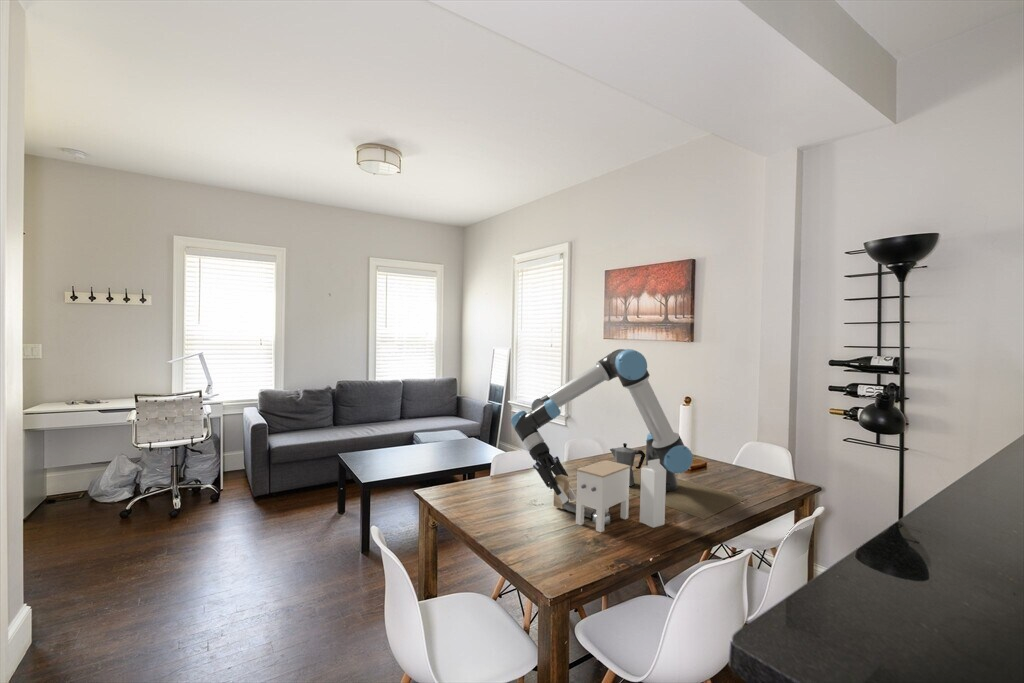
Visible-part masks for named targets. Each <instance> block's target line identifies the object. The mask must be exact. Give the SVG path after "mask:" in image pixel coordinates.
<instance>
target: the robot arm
mask: <svg viewBox="0 0 1024 683" xmlns="http://www.w3.org/2000/svg"><path fill="white" fill-rule="evenodd" d="M616 378H618V379H619V381H620V383H621V385H622V387H623V388H625V389H627V390H628V391H629V393H630V395H631V397H632V399H633V401H634V403H635V405H636V407H637V410H638V411H639V413H640V416H641V417H642V419H643V422H644V423H645V425H646V427H647V429H648V431H649V433H648V434H647V435H646V440H645V441H646V443H645V444H646V445H645V446H646V447H645V449H646V450H645V451H646V452H645V466H647V465H648V461H650V460H655V459H660V464H661V465H662V466H663V467H664V468H665V469H666V492H670V491H672V490H673V491H676V490H677V489H678V480H677V478H676V475H677V474H683V473H685V472H686V471H688V470H689V469H690V468H691V467H692V463H693V460H694V457H693V452H692V451H691V450H690V448H689V447H688V446H686V445H685V444H684V442H683V440H682V438H681V435H680V434H679V433H678V432H675V431H674V430H673V429H672V427H671V424H670V422H669V420H668V418H667V416H666V414H665V412H664V410H663V408H662V405H661V404H660V402H659V400H658V398H657V396H656V394H655V392H654V390H653V387H652V386H651V384H650V381H649V379H650V373H649V371H648V362H647V359H646V357H645V356H644V355H643V354H642V353H641V352H639V351H637V350H634V349H630V348H629V349H628V348H627V349H622V348H619V349H616V350H613V351H612V352H611V353H609V354H607V355H606V356H604V357H603V358H601V359H599V360H598V361H596V364H595V365H594V366H593V367H591V368H589V369H587V370H586V371H584V372H582V373H581V374H579V375H578V376H575V377H574V378H572V379H571V380H569V381H567V382H565V383H564V384H563V385H561V386H559V387H557V388H555V389H554V390H552V391H551V392H549V393H547V394H546V395H544V396H542V397H541V398H540V397H539V398H536V399H534V400H533V401H532V403H531V406H530V407H531V410H530V411H528V412H527V411H526V410H519V411H517V412H516V413H515V414H513V415H512V416H511V417H510V424H511V425H512V427H513V428H514V431H515V432H516V433H517V436H518V437H519V439H520V441H521V442H522V443H523V445H524V446H525V448H526V450H527V452H529V455H530V457H531V458H532V460H533V461H535V463H534V464H533V465H532V468H534V470H535V471H536V472H537V473H538V475H539V476H540V478H541V479H542V481H543V483H544V484H545V486H546V488H548V489H550V490H553V492H554V491H555V493H556V494H557V495H558V496H559V498H560V500H561V501H562V503H563V504H564V503H566V502H567V501H568V500H569V501H571V502H572V501H573V500H574V499H575V498H576V497H577V494H575V492H574V491H573V488H572V486H571V485H570V484H569V499H568V498H567V496H566V494H565V493H564V491H563V489H562V488H561V486H560V485H559V484H558V485H557V482H556V480H555V478H554V477H555V476H557V475H561V474H562V475H565V476H569V474H568V473H567V471H566V469H565V468H564V466H563V465H562V462H561V461H560V458H559V456H554V457H553V455H552V454H551V452H550V447H549V446H548V444H547V443H546V442H545V440H544V438H543V437H542V435H541V434H540V432H539V429H540V428H541V427H543V426H544V425H546V424H548V423H549V422H551V421H553V420H555V419H556V418H557V417H559V416H560V415H561V410H560V408H561V407H562V406H565V405H566V404H567V403H570V402H571V401H573V400H574V399H576V398H578V397H580V396H582V395H583V394H584V393H587V392H588V391H589V390H592V389H593V388H595V387H597V386H598V385H600V384H601V383H603V382H604V381H607V382H609V381H611V380H613V379H616Z"/></svg>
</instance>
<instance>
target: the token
mask: <svg viewBox="0 0 1024 683" xmlns="http://www.w3.org/2000/svg"><path fill="white" fill-rule="evenodd" d="M591 519H592V523H594V524H595V525H596V512H593V517H592V518H591ZM610 524H611V514H610V513H609V512H607V513H606V512H605V524H604V526H608V525H610Z"/></svg>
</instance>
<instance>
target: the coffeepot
mask: <svg viewBox="0 0 1024 683" xmlns="http://www.w3.org/2000/svg"><path fill="white" fill-rule="evenodd" d="M622 445H623V446H622V447H612V448H610V449H609V451H610V452H611V453H612V455H613V457H614V460H615V461H614V462H616V463H621V464H625V465H629V466H631V468H630V477H629V486H632V485H634V484H635V478H634V470H633V466H634V464H635V463H634V462H635V457H636V455H640V456H641V457H640V458H639V459H640V460H639V462H638V465H637V466H635V467H634V468H635V469H636V470H641V468H642V466H643V463H644V461H645V460H646V452H644V451H643V450H641V449H634V448H631V447H627V445H628V443H623V444H622ZM634 486H635V485H634ZM632 487H633V486H632Z"/></svg>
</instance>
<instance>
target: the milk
mask: <svg viewBox="0 0 1024 683" xmlns="http://www.w3.org/2000/svg"><path fill="white" fill-rule="evenodd" d="M666 492H667V491H666V469H665V468H664V467H663V466H662V465H661V464H660V459H655V460H650V461H648V465H647V466H646V465H645V466H643V467H642V466H641V468H640V494H639V496H640V498H639V501H640V502H639V522H640V523H642V524H644V525H646V526H648V527H650V528H653V529H654V528H657V527H661V526H664V525H665V520H666V519H665V518H666V494H667V493H666Z"/></svg>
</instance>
